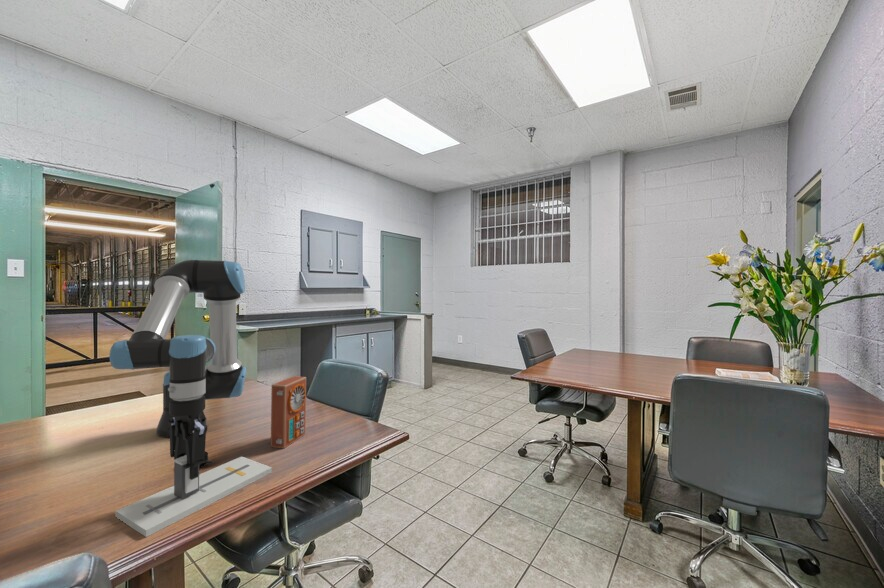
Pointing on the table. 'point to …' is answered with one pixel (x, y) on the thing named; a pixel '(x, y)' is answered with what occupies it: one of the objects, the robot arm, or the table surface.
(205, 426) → the robot arm
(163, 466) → the table surface
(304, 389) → the control panel
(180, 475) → the slider handle
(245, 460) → the fader board
